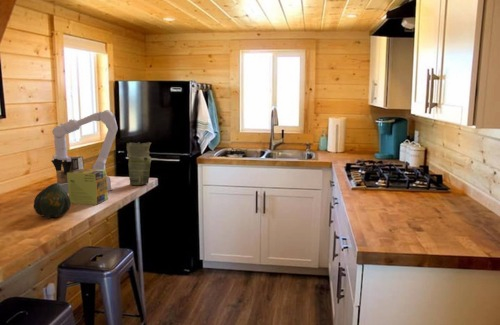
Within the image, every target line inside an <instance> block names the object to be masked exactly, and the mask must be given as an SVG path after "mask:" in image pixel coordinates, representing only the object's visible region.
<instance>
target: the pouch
mask: <svg viewBox="0 0 500 325" xmlns="http://www.w3.org/2000/svg"><path fill="white" fill-rule="evenodd" d="M151 144H152V142H150V141H148V142H143V143H141V142H140V141H138V142H127V143H126V151H127V157H128V163H127V165H128V167H127V168H128V177H129V178H128V179H129V185H132V186H142V185H146V184H147V185H149V182H150V170H151V169H150V168H151V162H152V156H150V153H151V151H150V147H151Z"/></svg>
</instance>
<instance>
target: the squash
mask: <svg viewBox="0 0 500 325" xmlns="http://www.w3.org/2000/svg"><path fill="white" fill-rule="evenodd" d="M54 183H55V184H54ZM54 183H51V184H49V185H48V186H46V187H45V188H43V189H42V190H41V191H40V192H38V193H37V194H36V196H35V198H34V200H33V209H34V210H35V213H36V214H37V215H39V216H42V217H43V218H44V219H49V220H50V219H51V218H55V219H56V218H58V217H60V216H62V215H65V214H66V213H67V212H68V211H69V210H70V208H71V204H72V203H71V202H70V198H69V194H68V193H66V192H65V191H64V190H63V189H62V188H61V187H60V185H59V184H57V183H56V182H54Z"/></svg>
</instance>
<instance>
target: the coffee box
mask: <svg viewBox="0 0 500 325" xmlns="http://www.w3.org/2000/svg"><path fill="white" fill-rule="evenodd" d="M69 157H70V158H71V161H73V163H72V164H71V167H70V172H71V171H74V170H77V169H85V166H84V164H85V163H84V156H69Z"/></svg>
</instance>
